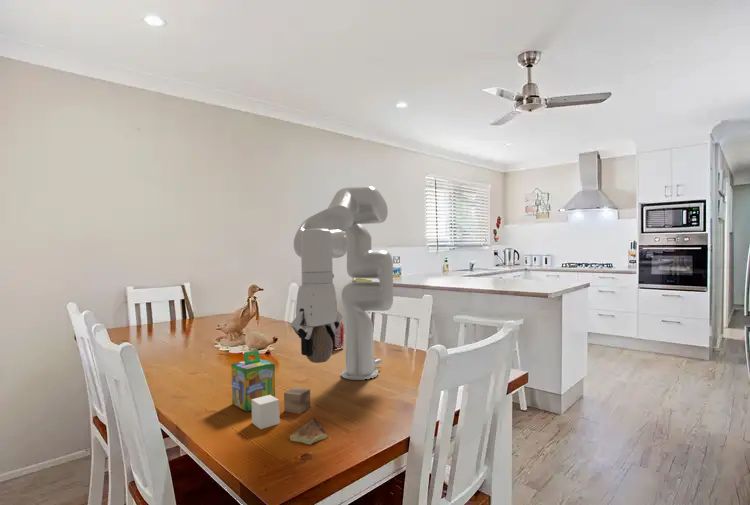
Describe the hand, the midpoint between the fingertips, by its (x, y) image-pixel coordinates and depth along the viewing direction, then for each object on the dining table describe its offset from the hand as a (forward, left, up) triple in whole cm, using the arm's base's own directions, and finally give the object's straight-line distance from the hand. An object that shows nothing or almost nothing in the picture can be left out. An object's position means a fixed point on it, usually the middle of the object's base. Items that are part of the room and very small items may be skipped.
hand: (318, 351), depth 103 cm
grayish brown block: (-4, -13, -18) cm, 23 cm away
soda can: (-59, -54, -18) cm, 82 cm away
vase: (0, 0, -3) cm, 3 cm away
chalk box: (+1, -26, -19) cm, 32 cm away
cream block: (+7, -12, -18) cm, 23 cm away
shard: (+5, +1, -19) cm, 20 cm away
